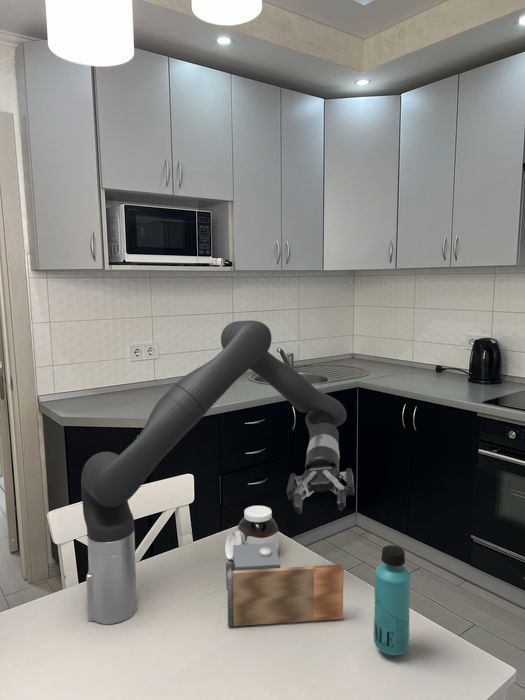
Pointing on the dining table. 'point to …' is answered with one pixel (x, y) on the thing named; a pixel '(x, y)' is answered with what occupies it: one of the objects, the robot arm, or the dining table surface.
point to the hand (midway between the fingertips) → (319, 509)
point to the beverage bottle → (392, 602)
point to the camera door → (285, 595)
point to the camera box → (253, 557)
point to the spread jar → (253, 530)
